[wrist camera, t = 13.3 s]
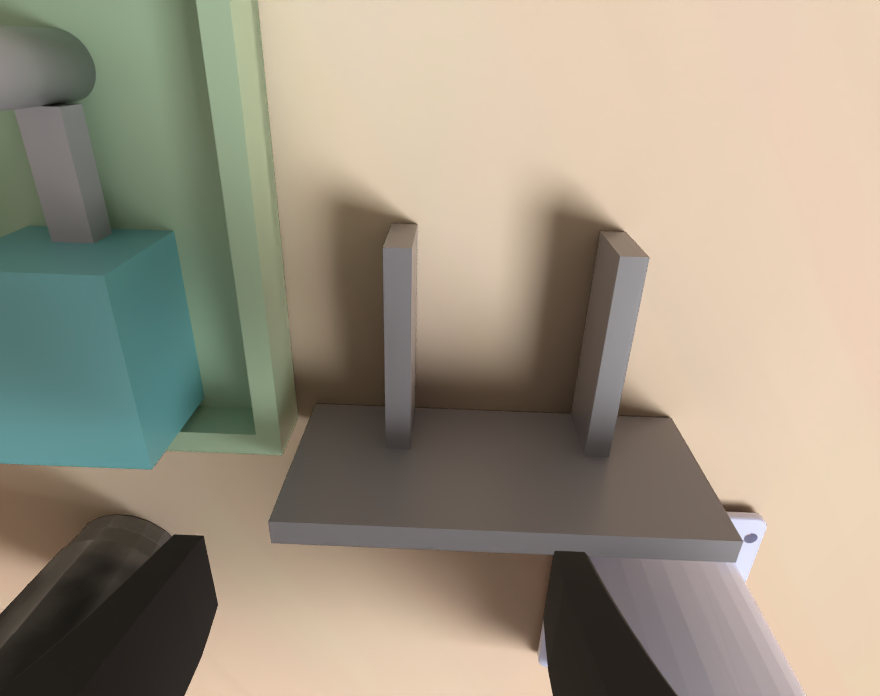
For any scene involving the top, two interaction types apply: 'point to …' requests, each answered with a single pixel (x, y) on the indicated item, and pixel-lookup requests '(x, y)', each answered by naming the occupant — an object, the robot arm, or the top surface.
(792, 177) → the top surface
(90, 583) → the beverage cup
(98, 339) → the cyan and grey piece
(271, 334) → the tray
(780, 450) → the top surface
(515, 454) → the rack
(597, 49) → the top surface
